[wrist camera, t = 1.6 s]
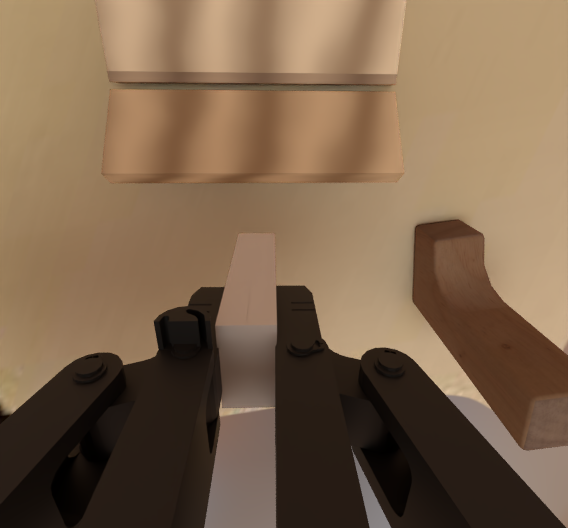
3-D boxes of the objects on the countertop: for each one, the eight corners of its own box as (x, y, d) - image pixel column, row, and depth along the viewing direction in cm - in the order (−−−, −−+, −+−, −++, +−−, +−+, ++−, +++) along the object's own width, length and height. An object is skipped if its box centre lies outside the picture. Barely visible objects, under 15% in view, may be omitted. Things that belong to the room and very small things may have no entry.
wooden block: (414, 224, 34) (551, 336, 18) (460, 218, 34) (640, 325, 18) (411, 302, 38) (521, 454, 21) (452, 297, 38) (594, 445, 21)
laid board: (117, 82, 28) (109, 81, 26) (100, -20, 25) (89, -27, 23) (389, 85, 29) (395, 84, 27) (400, -13, 26) (409, -20, 24)
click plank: (110, 183, 26) (101, 173, 25) (118, 102, 28) (110, 89, 26) (397, 182, 27) (404, 173, 26) (388, 104, 29) (395, 91, 27)
